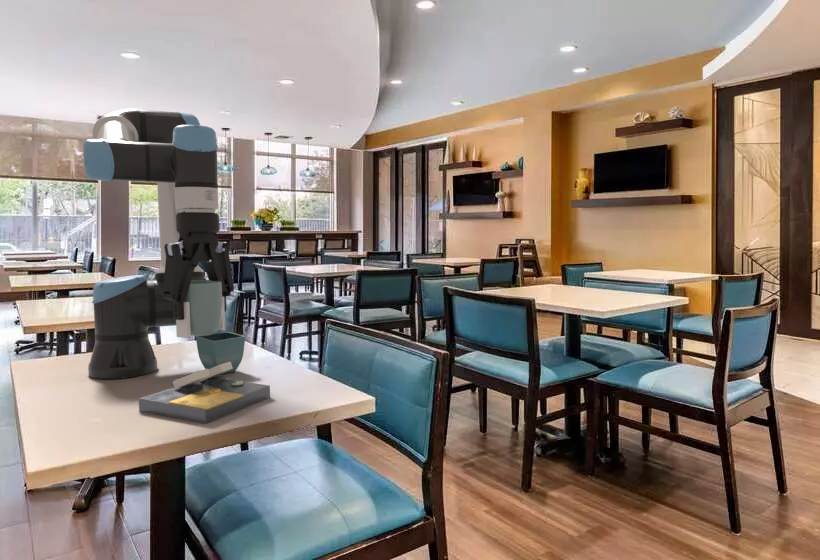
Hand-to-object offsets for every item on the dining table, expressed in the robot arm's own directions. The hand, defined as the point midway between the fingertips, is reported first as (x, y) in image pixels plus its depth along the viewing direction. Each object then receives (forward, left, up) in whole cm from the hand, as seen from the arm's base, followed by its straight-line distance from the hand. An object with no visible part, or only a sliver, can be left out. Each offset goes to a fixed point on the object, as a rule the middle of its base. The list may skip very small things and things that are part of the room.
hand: (201, 333), depth 109 cm
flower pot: (-20, +25, -16) cm, 36 cm away
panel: (-4, +4, -15) cm, 16 cm away
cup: (0, 0, 0) cm, 0 cm away
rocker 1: (-8, +4, -11) cm, 14 cm away
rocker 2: (-8, +11, -11) cm, 17 cm away
